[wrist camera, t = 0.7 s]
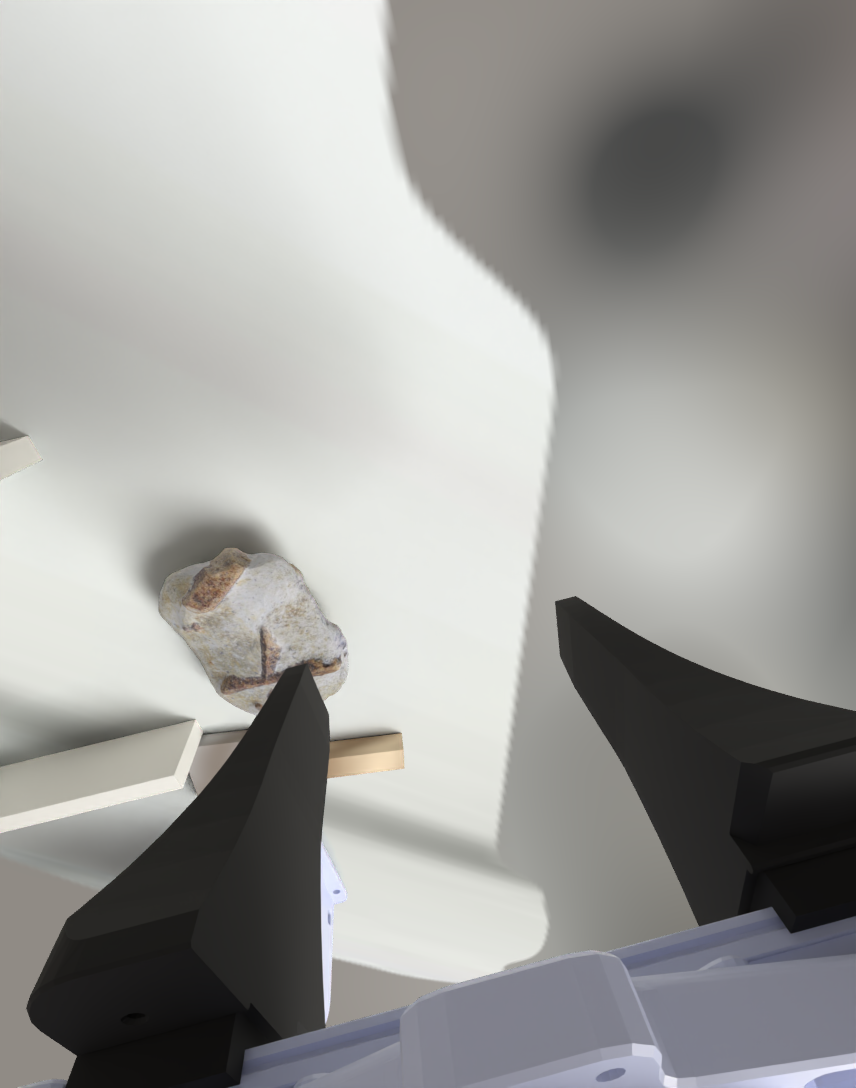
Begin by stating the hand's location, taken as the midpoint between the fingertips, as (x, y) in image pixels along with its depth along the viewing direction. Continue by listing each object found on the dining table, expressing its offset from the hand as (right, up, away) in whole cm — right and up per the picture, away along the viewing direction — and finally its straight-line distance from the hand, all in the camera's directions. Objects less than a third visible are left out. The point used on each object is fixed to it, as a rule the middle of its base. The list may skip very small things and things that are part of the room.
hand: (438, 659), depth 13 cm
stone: (-7, +3, +9) cm, 12 cm away
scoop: (-8, -9, +15) cm, 19 cm away
